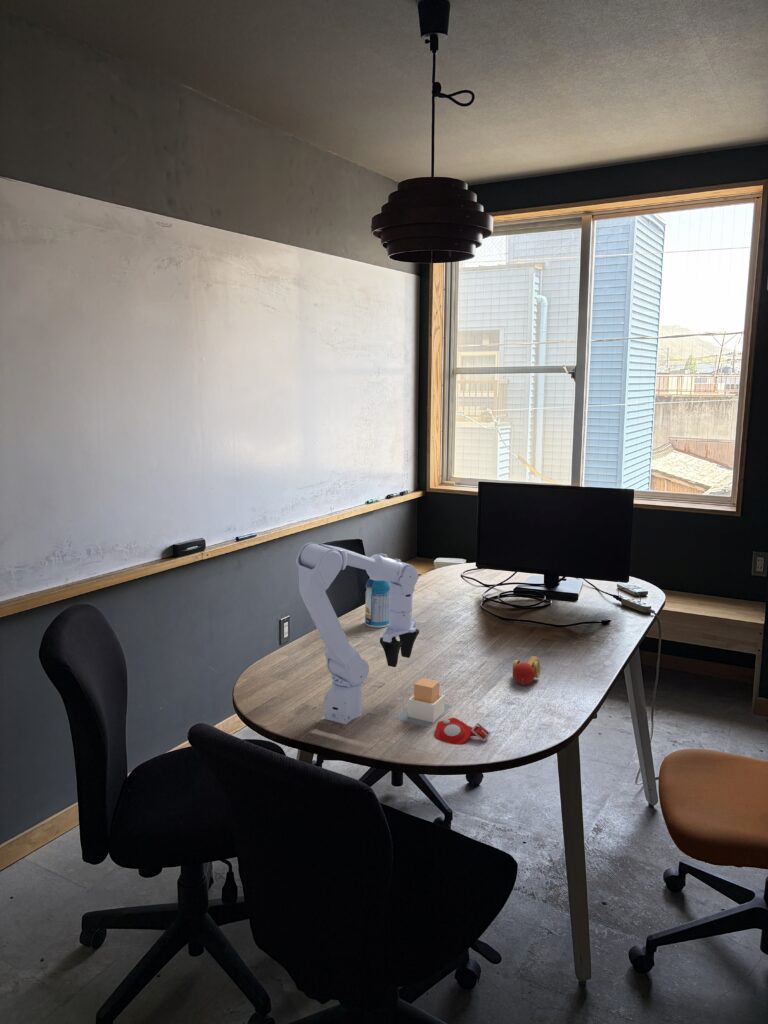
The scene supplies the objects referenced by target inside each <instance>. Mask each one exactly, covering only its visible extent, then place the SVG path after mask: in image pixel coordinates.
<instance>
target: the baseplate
mask: <svg viewBox="0 0 768 1024" xmlns="http://www.w3.org/2000/svg"><path fill="white" fill-rule="evenodd" d="M451 707H452V704H451V705H450V704H446V703H444V713H443V714H442V715H441V716H440V717H439V718H438V719H437V720H436V721H434V722H429V721H424V720H420V719H416V718H412V717H408V707H406V709H405V710H403V711H402V712H401V713H400V714H398V715H397V716H396V717H395V718H394V720H399V721H402V722H406V723H410V724H415V725H418V726H422V727H427V728H431V726H433V724H435V722H438V720H439V719H440V718H441V717H442V716H443V715H444V714H445V713H447V711H448V710H449V709H451Z"/></svg>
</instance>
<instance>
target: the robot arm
mask: <svg viewBox="0 0 768 1024" xmlns="http://www.w3.org/2000/svg"><path fill="white" fill-rule="evenodd" d="M295 564H296V566H297V569H298V591H299V595H300V597H301V598H302V600H303V603H304V605H305V607H306V609H307V610H308V611H307V612H308V613H309V615H310V617H311V619H312V622H313V623H314V625H315V628H316V629H317V631H318V633H319V636H320V637H321V640H322V642H323V643H324V646H325V648H326V650H325V651H324V654H323V655H324V656H325V658H326V659H325V660H326V669H327V670H328V672H329V673H330V674H331V675H330V677H331V680H332V681H331V686H330V688H329V689H328V691H326V693H325V695H324V716H322V717H321V718H320V719H321V721H323V720H328V721H331V722H336V723H338V724H343V725H347V724H349V723H350V722H351V721H353V720H355V719H357V718H359V717H361V716H362V712H363V711H362V708H363V707H362V705H363V703H362V702H363V684H364V683H365V681H366V679H367V678H368V676H369V672H370V666H369V664H368V663H369V662H368V661H366V660H365V659H364V658H362V657H361V655H360V653H359V651H357V650H356V648H354V647H353V646H352V644H351V643H350V642H349V639H348V637H347V635H346V633H345V630H344V628H343V627H342V624H341V622H340V620H339V618H338V615H337V614H336V612H335V610H334V608H333V605H332V604H331V601H330V599H329V597H328V594H327V592H326V591H327V590H328V589H329V588H330V586H331V585H332V583H333V582H334V581H335V579H336V577H337V576H338V575H339V573H340V571H341V570H342V571H344V570H345V569H346V567H347V566H349V567H353V568H357V569H361V570H365V571H366V574H367V575H368V577H369V576H370V577H372V578H376V579H379V580H383V581H386V582H389V583H390V589H389V591H390V602H389V625H388V626H386V630H385V631H384V633H382V636H381V637H380V638H379V643H380V646H381V647H382V649H383V651H384V655H385V657H386V658H385V659H386V662H387V666H388V667H392V668H396V667H397V665H398V661H399V656H401V657H403V658H408V659H409V658H410V657H411V655H412V651H413V648H414V645H415V641H416V639H417V637H418V635H419V634H420V629H418V628H417V619H416V618H415V619H414V618H413V597H414V596H413V594H414V591H415V586H416V583H417V582H418V580H419V574H418V571H417V569H416V568H415V566H414V565H412V564H411V563H410V564H409V563H406V562H403V561H402V560H401V559H399V558H390V557H388V554H385V553H382V552H380V553H377V554H376V553H375V554H373V555H371V556H367V555H363V554H360V553H358V552H356V551H351V550H349V549H346V548H343V547H340V546H334V545H329V544H325V543H324V544H321V543H320V545H319V544H318V543H316V542H313V541H311V542H307V543H305V544H304V545H302V546H301V548H300V550H299V552H298V553H297V557H296V559H295ZM370 577H369V578H370ZM397 637H398V638H399V640H398V639H397ZM399 654H401V655H399Z"/></svg>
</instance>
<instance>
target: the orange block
mask: <svg viewBox="0 0 768 1024" xmlns="http://www.w3.org/2000/svg"><path fill="white" fill-rule="evenodd" d="M440 685H441V682H440V680H435V679H430V678H426V677H421V678H420V679H419V680H418V681H416V682H415V683H414V687H413V692H414V693H413V695H414V700H418V701H422V702H426V703H431V704H434V703H435V702H436V701H437V700H438V699H439V694H440Z"/></svg>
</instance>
